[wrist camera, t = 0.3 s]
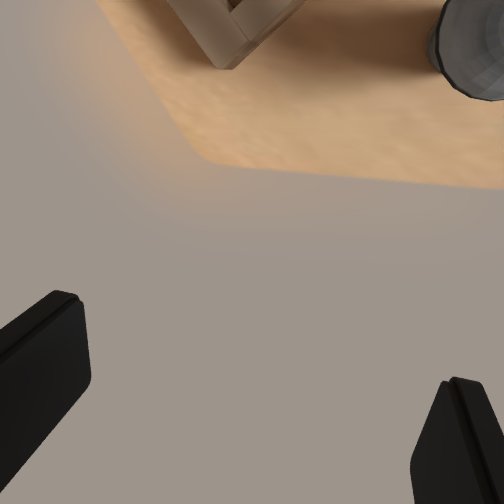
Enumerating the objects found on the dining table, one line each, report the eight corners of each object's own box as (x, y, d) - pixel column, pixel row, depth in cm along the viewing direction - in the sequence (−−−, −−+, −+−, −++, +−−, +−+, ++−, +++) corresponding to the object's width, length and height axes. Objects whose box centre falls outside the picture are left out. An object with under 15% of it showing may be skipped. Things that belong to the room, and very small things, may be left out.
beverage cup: (415, 103, 34) (487, 139, 16) (400, 9, 31) (467, -73, 13) (512, 75, 31) (725, 80, 14) (505, -29, 29) (753, -189, 11)
